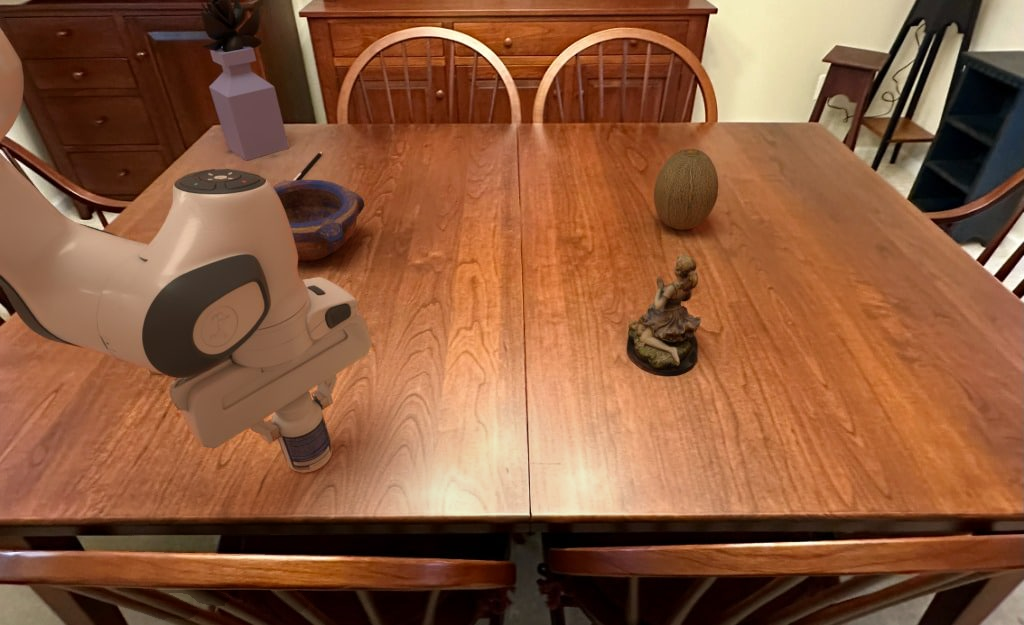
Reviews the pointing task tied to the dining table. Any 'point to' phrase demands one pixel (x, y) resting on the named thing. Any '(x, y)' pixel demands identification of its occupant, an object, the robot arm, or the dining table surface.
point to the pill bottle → (303, 434)
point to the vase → (242, 83)
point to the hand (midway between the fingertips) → (299, 420)
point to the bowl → (319, 215)
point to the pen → (308, 166)
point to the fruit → (686, 189)
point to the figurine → (667, 326)
